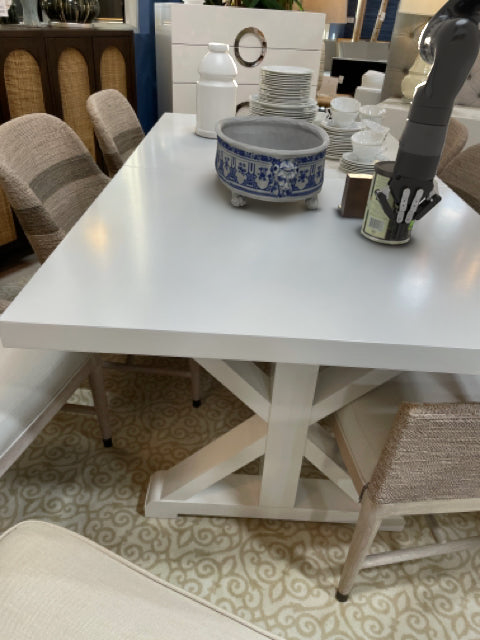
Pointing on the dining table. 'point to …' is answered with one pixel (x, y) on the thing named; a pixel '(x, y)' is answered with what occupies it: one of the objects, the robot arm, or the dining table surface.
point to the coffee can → (375, 218)
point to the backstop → (355, 195)
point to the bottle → (215, 89)
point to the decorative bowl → (271, 159)
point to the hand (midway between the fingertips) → (396, 238)
